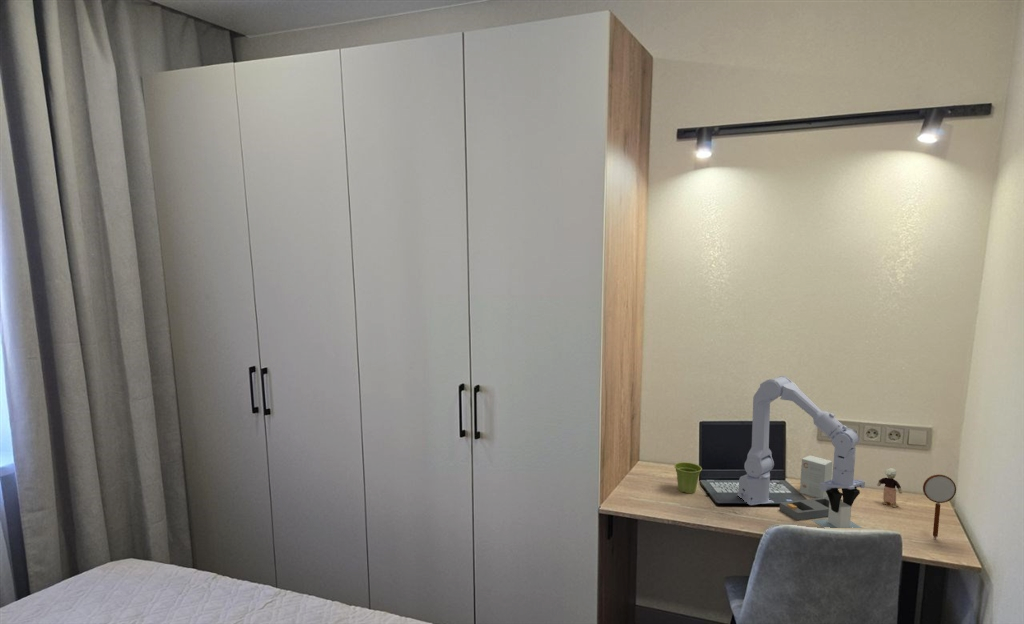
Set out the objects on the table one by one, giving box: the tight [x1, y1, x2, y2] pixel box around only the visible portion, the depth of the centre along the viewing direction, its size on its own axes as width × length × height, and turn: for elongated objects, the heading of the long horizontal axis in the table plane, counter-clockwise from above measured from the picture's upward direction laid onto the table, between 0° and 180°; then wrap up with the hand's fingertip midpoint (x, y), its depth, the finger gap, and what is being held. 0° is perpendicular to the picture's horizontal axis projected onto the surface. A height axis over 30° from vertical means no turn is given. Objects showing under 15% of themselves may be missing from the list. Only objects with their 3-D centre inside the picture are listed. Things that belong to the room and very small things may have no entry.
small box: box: [799, 454, 833, 499], centre depth 208 cm, size 8×6×13 cm
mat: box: [811, 518, 863, 528], centre depth 184 cm, size 12×10×1 cm
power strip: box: [779, 497, 829, 522], centre depth 193 cm, size 20×8×4 cm, turn 105°
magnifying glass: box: [922, 474, 957, 540], centre depth 176 cm, size 9×2×20 cm, turn 77°
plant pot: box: [674, 462, 703, 494], centre depth 211 cm, size 9×9×9 cm
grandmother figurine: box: [876, 467, 903, 508], centre depth 201 cm, size 8×4×13 cm, turn 47°
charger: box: [827, 499, 852, 528], centre depth 184 cm, size 4×5×8 cm
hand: (840, 510), depth 183 cm, fingers closed on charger, 4 cm apart
